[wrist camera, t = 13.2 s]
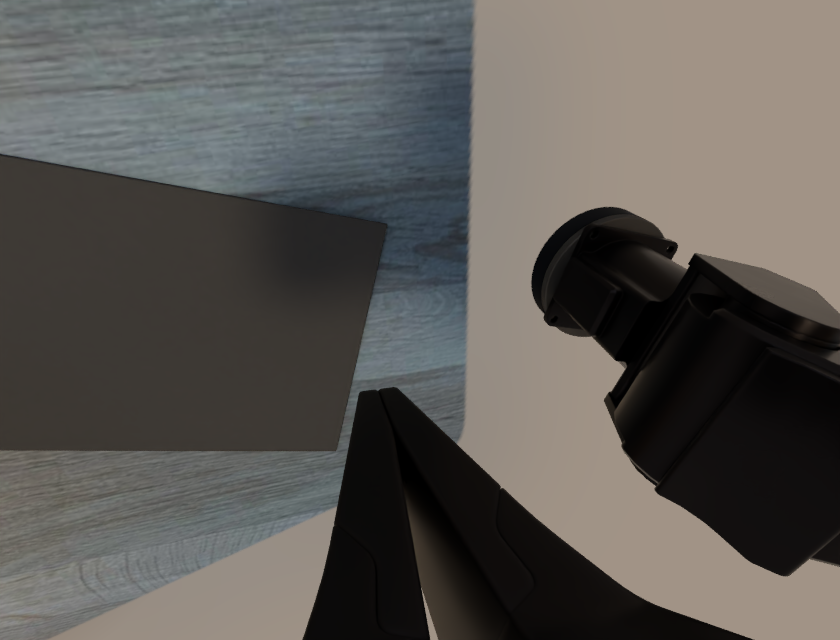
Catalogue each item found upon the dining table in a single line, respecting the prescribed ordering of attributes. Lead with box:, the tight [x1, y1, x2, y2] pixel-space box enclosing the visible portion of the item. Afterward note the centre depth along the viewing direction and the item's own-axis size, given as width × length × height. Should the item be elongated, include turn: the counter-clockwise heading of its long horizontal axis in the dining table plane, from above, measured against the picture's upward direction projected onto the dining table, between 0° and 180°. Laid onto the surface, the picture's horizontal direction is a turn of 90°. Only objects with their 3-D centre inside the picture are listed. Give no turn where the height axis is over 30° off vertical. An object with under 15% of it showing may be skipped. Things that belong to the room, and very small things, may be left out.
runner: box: [0, 154, 387, 451], centre depth 20 cm, size 32×16×1 cm, turn 75°
